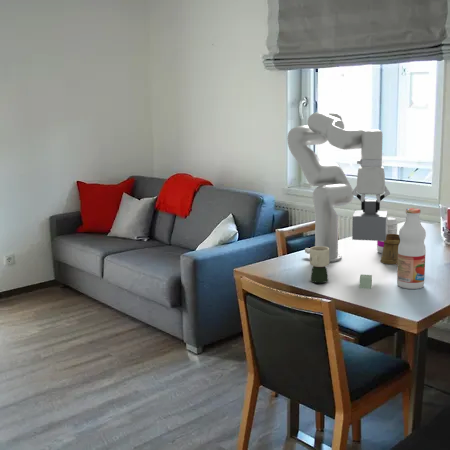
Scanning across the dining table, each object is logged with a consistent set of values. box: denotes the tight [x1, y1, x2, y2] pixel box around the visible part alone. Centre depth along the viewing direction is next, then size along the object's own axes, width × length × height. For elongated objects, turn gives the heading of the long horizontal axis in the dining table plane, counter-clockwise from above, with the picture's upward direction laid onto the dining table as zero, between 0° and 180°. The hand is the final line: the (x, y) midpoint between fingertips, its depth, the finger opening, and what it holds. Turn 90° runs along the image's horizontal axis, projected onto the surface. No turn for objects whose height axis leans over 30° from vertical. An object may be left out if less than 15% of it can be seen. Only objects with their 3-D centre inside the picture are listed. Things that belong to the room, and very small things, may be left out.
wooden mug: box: [380, 233, 400, 265], centre depth 246 cm, size 9×14×18 cm, turn 60°
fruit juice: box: [396, 207, 427, 290], centre depth 215 cm, size 9×9×28 cm
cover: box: [351, 198, 388, 242], centre depth 229 cm, size 12×12×14 cm
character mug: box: [309, 245, 330, 284], centre depth 224 cm, size 11×7×13 cm, turn 156°
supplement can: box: [376, 216, 398, 254], centre depth 263 cm, size 8×8×15 cm
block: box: [359, 273, 373, 290], centre depth 218 cm, size 4×4×4 cm
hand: (370, 211), depth 228 cm, fingers closed on cover, 4 cm apart
